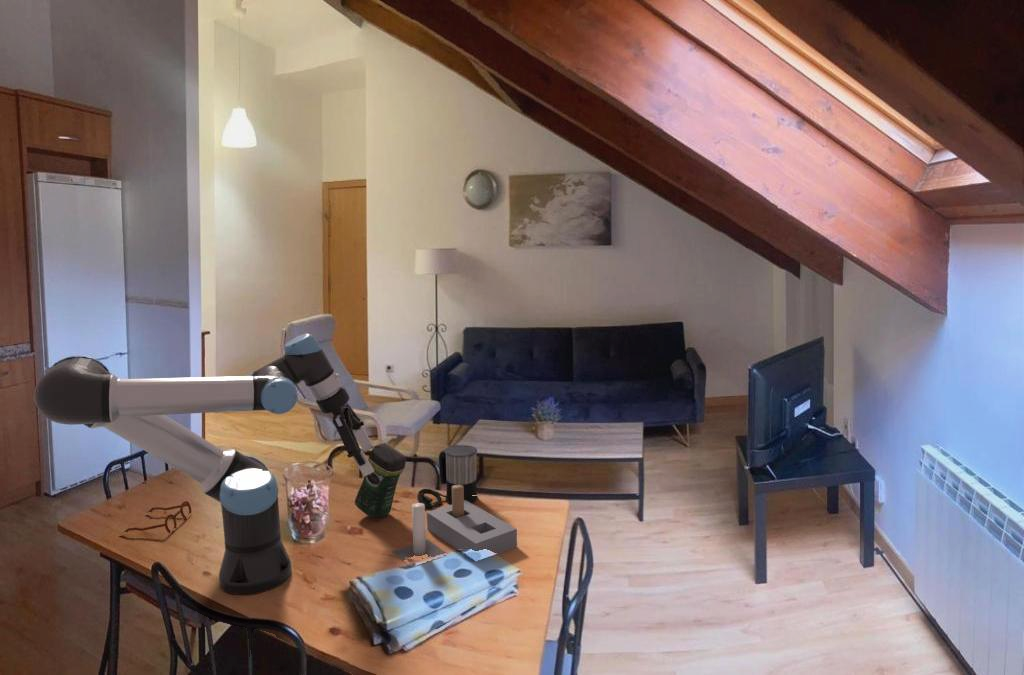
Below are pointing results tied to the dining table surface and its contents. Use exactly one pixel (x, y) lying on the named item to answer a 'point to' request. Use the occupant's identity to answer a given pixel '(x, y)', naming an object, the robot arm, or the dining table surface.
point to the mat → (408, 552)
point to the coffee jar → (380, 481)
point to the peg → (419, 529)
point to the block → (470, 526)
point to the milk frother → (454, 475)
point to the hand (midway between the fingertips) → (369, 461)
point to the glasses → (166, 517)
